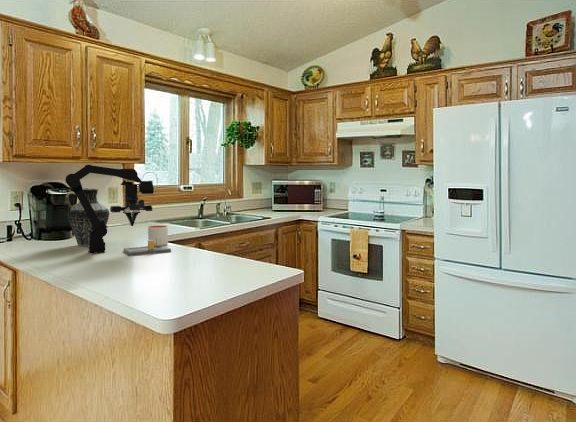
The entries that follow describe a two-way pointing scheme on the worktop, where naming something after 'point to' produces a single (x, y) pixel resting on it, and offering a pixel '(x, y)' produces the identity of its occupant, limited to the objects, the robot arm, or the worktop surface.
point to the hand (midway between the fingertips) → (132, 226)
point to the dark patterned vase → (85, 216)
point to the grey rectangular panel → (146, 250)
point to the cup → (158, 234)
